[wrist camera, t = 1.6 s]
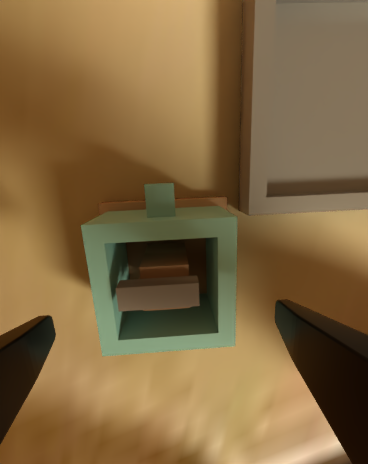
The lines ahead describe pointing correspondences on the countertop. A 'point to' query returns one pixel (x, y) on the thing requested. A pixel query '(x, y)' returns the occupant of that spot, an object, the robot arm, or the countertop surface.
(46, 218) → the countertop surface
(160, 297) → the brown peg stand
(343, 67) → the tray
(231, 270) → the ring
